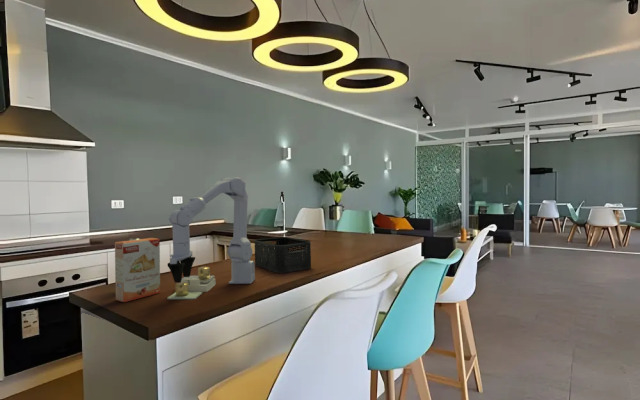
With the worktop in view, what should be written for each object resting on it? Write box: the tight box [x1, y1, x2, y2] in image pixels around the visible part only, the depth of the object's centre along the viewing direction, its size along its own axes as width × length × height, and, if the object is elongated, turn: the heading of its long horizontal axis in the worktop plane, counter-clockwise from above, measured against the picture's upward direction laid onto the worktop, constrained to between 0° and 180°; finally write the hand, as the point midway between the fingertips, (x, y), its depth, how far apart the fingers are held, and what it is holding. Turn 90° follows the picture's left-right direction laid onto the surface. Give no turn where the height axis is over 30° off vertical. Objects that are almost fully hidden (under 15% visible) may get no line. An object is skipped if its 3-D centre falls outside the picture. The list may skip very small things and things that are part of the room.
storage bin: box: [253, 236, 312, 274], centre depth 177 cm, size 29×19×13 cm
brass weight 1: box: [175, 282, 189, 297], centre depth 128 cm, size 4×4×4 cm
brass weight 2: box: [197, 266, 211, 279], centre depth 140 cm, size 4×4×4 cm
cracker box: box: [114, 237, 161, 303], centre depth 128 cm, size 14×6×21 cm, turn 148°
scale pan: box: [180, 275, 216, 283], centre depth 140 cm, size 12×8×1 cm, turn 88°
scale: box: [180, 278, 217, 293], centre depth 139 cm, size 12×10×5 cm
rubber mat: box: [166, 291, 203, 300], centre depth 129 cm, size 10×7×1 cm
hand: (182, 279), depth 128 cm, fingers open, 7 cm apart
